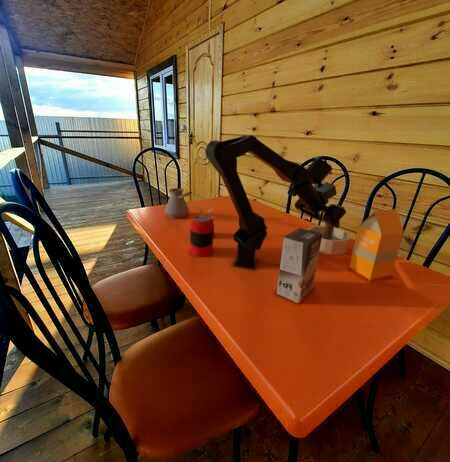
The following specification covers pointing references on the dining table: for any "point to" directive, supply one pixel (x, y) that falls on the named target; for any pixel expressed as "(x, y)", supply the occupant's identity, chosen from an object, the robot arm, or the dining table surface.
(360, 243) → the orange juice
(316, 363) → the dining table surface
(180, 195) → the coffee pot
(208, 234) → the soda can
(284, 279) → the coffee box
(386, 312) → the dining table surface
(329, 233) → the brown rectangular block
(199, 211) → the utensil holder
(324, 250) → the bowl
